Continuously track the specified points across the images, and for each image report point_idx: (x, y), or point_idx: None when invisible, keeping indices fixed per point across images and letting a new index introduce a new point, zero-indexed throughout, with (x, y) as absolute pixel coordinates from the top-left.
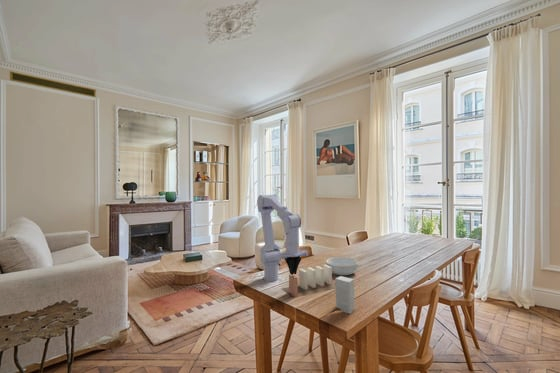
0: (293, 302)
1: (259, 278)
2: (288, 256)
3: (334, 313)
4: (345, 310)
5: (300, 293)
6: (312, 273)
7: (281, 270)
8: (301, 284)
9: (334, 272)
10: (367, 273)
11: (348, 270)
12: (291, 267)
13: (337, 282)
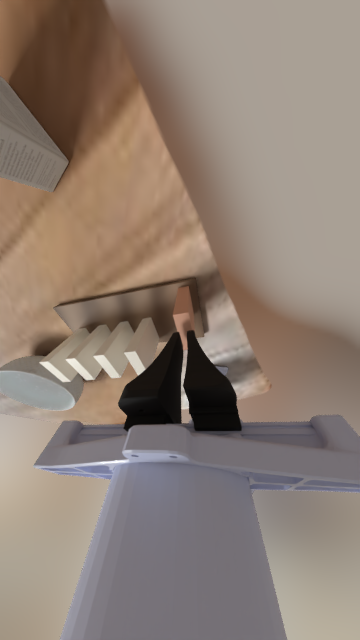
0: (197, 264)
1: None
2: (252, 442)
3: (76, 120)
4: (19, 102)
5: (166, 300)
6: (110, 349)
7: None
8: (154, 335)
9: None
10: (5, 357)
11: (23, 360)
12: (200, 350)
13: None
